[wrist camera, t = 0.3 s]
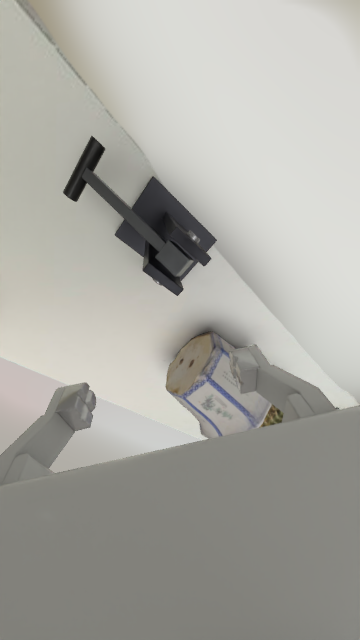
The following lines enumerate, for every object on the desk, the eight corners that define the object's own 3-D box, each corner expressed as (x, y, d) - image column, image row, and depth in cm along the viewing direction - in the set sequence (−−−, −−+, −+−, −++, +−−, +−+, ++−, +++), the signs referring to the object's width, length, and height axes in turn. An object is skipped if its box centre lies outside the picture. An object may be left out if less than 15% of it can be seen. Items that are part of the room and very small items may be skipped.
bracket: (115, 233, 30) (93, 261, 18) (153, 176, 26) (155, 167, 15) (177, 281, 35) (191, 327, 23) (215, 238, 32) (251, 267, 20)
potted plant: (146, 425, 32) (271, 505, 38) (230, 350, 26) (359, 458, 33) (159, 362, 48) (246, 426, 55) (213, 308, 43) (302, 386, 49)
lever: (73, 196, 23) (56, 188, 21) (100, 144, 21) (85, 129, 19) (169, 289, 23) (162, 291, 21) (207, 246, 21) (203, 243, 18)
